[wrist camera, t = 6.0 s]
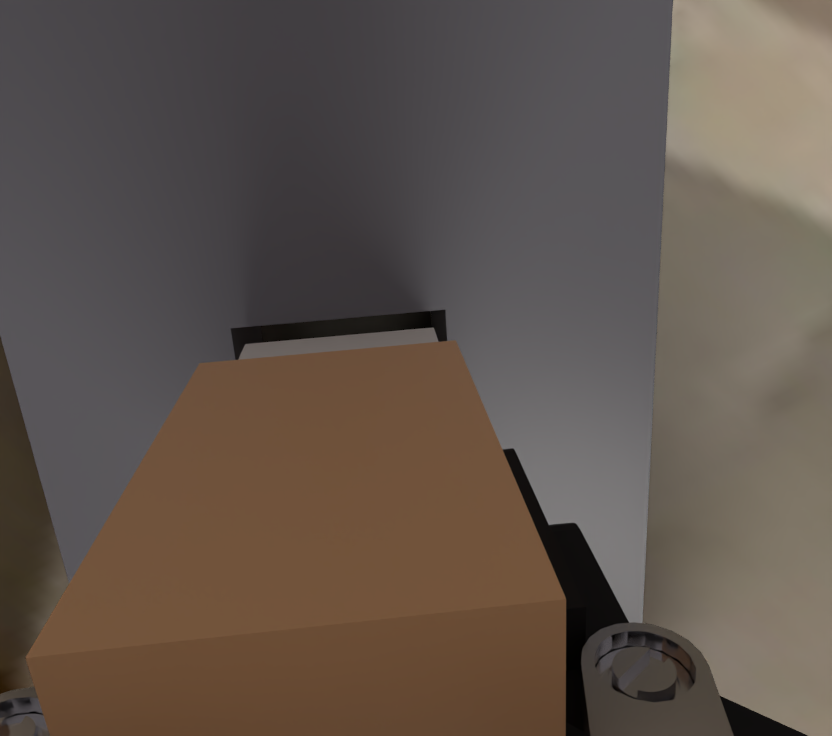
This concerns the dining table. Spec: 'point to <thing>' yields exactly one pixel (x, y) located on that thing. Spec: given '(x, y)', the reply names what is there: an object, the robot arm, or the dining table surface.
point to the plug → (314, 562)
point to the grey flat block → (338, 221)
